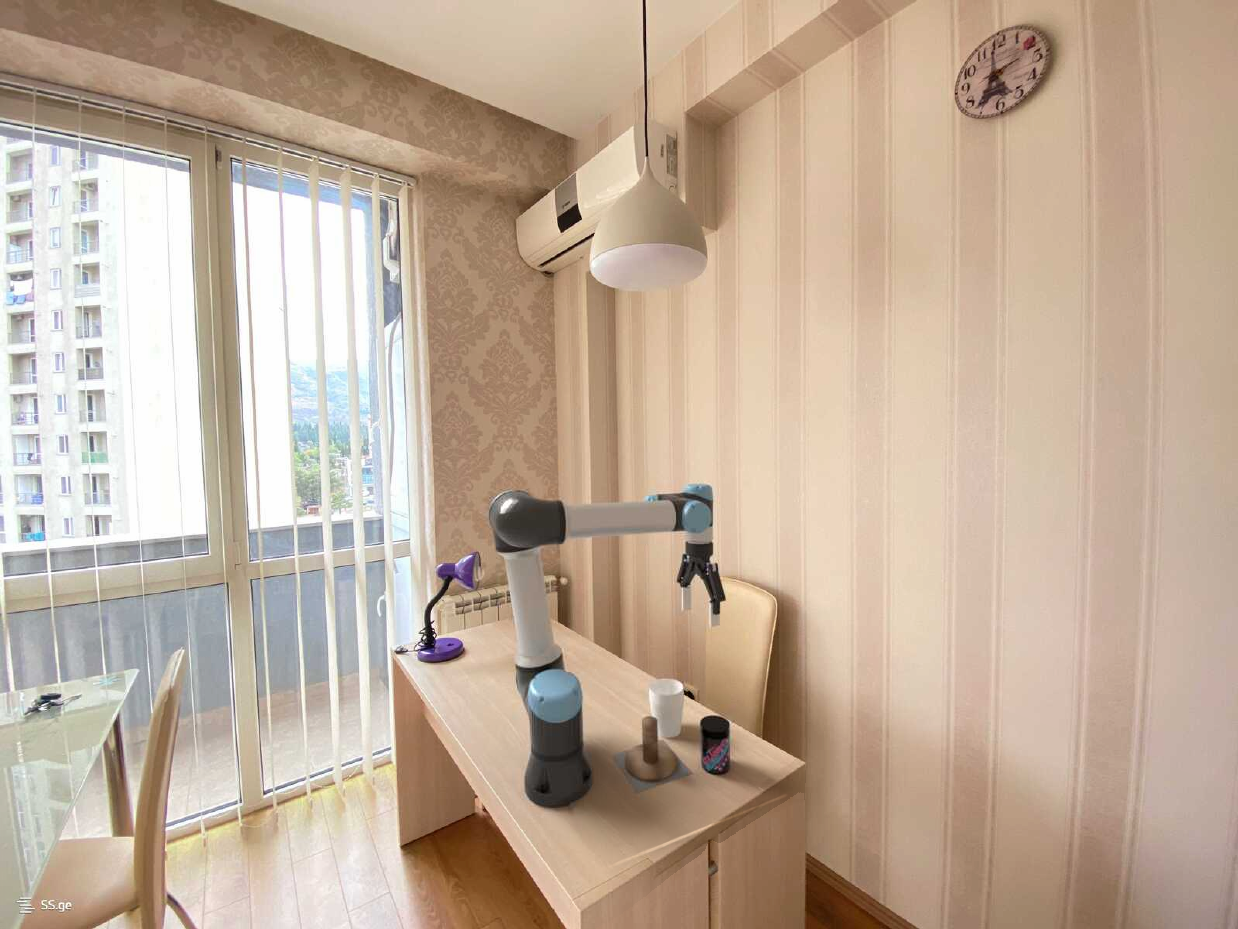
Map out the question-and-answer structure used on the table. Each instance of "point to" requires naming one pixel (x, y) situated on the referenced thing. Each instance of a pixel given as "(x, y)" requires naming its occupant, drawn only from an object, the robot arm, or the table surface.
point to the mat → (643, 785)
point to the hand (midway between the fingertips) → (699, 617)
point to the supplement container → (715, 744)
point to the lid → (650, 756)
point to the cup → (667, 706)
